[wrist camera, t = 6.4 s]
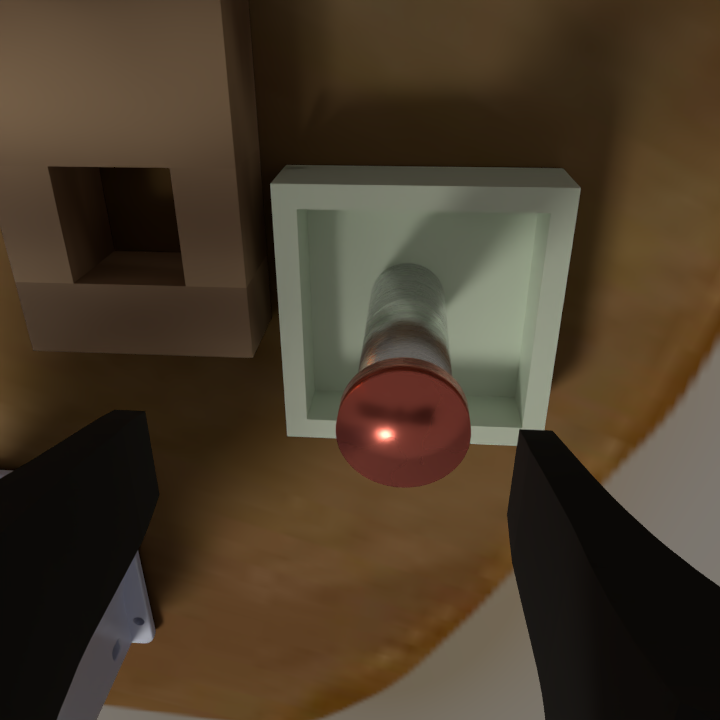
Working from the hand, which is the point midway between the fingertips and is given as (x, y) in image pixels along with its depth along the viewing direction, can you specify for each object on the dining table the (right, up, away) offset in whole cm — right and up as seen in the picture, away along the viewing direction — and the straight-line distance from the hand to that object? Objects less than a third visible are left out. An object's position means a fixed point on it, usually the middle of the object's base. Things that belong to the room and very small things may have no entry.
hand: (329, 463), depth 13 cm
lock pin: (+2, +4, +9) cm, 10 cm away
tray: (+2, +4, +9) cm, 10 cm away
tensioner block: (-6, +11, +7) cm, 14 cm away
